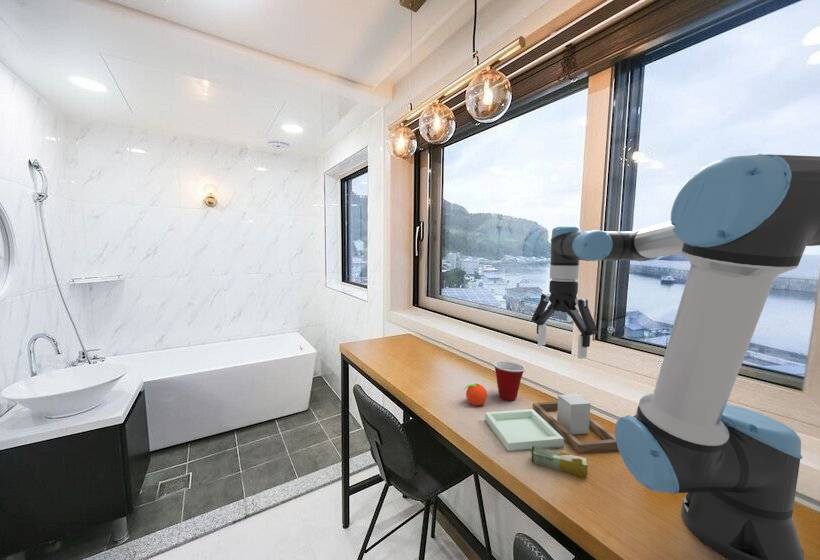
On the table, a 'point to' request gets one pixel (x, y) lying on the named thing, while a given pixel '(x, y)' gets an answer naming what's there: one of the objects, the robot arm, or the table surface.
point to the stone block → (573, 413)
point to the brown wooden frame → (580, 447)
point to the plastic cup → (508, 379)
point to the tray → (523, 430)
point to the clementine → (476, 394)
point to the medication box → (560, 461)
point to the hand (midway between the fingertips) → (560, 351)
